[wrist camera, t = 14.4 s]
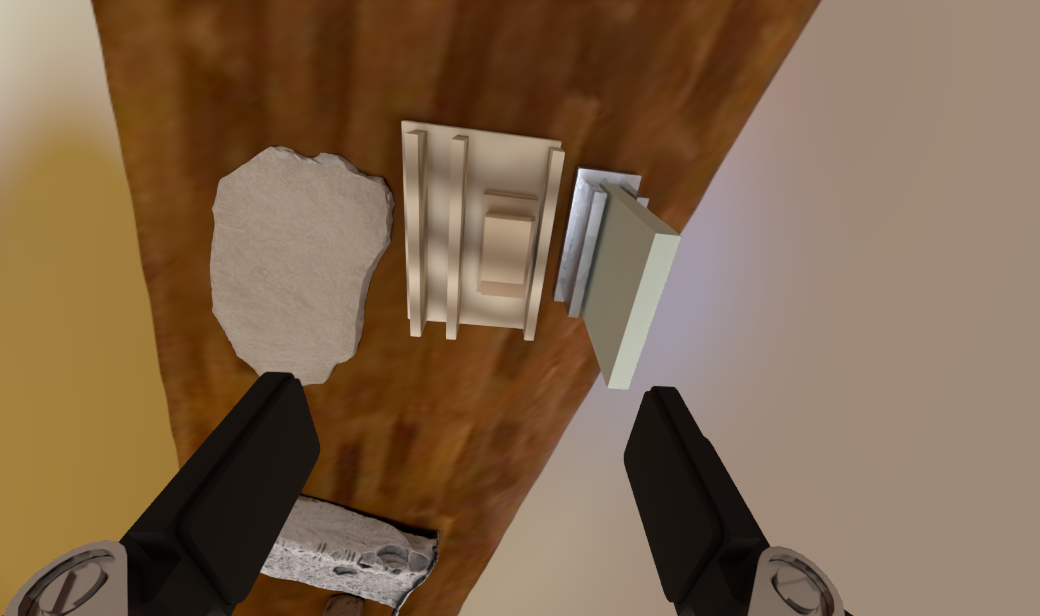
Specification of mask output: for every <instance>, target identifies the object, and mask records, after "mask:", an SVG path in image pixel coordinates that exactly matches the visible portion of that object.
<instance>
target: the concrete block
mask: <svg viewBox="0 0 1040 616" xmlns="http://www.w3.org/2000/svg"><path fill="white" fill-rule="evenodd" d="M439 531H440V530H439ZM438 537H439V532H438V531H437V532H436V533H435V534H434V535H433V537H431V539H429V538H425V537H422V536H417V535H416V536H414V535H413V534H410V533H404V532H402V531H400V530H399V529H397V528H396V527H393V526H392V525H390V524H388V523H385V522H383V521H381V520H380V521H379V520H377V519H375V518H369V517H365V516H363V515H360V514H357V513H356V512H352V511H349V510H346V509H345V508H343V507H340V506H335V505H333V504H330V503H328V502H326V501H325V502H321V501H319V500H316V499H313V498H306V497H304V496H300V495H299V497H298V499H297V501H296V503H295V505H294V507H293V509H292V511H291V512H290V514H289V516H288V518H287V520H286V522H285V524H284V526H283V528H282V530H281V532H280V534H279V536H278V538H277V540H276V542H275V544H274V546H273V548H272V550H271V552H270V554H269V556H268V558H267V560H266V562H265V564H264V565H263V567H262V569H261V571H260V572H261V573H263V574H266V575H269V576H271V577H275V578H281V579H289V580H294V581H300V582H304V583H307V584H309V585H314V586H316V587H320V588H325V589H331V590H340V591H344V592H348V593H352V594H355V595H358V596H361V597H363V598H366V599H372V600H375V601H379V602H380V603H382V604H387V605H390V606H391V607H393V608H394V610H393V612H392V614H391V615H392V616H398V614H399V609H400V607H401V606H402V605H403V603H404V602H405V600H406V598H407V597H408V595H409V594H410V593H411V592H412V591H413V590H414V589H415V588H416V587H418V586H419V585H421V584H422V583H423V582H424V581H425V579H426V578H427V577H428V575H429V574H430V572H431V571H432V569H433V568H434V567H435V563H437V558H438V555H439V553H438V552H437V551H438V550H437V549H438V545H439V543H438V542H439V540H438Z"/></svg>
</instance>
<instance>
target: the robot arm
mask: <svg viewBox="0 0 1040 616" xmlns="http://www.w3.org/2000/svg"><path fill="white" fill-rule="evenodd" d="M319 454H320V443H319V440H318V436H317V433H316V430H315V427H314V423H313V420H312V417H311V413H310V410H309V407H308V404H307V400H306V397H305V394H304V390H303V387H302V384H301V381H300V379H298V378H295V377H294V375H293V374H292V373H291V372H269V371H267V372H265V373H263V374H262V375H261V376H260V377H259V378H258V380H257V381H256V382H255V383H254V384H253V385H252V387H251V388H250V389H249V390H248V391H247V393H246V394H245V395H244V396H243V397H242V398H241V400H240V401H239V402H238V403H237V404H236V405H235V407H234V408H233V409H232V410H231V411H230V412H229V414H228V415H227V416H226V417H225V418H224V419H223V421H222V422H221V423H220V424H219V425H218V426H217V428H216V429H215V430H214V431H213V432H212V433H211V434H210V436H209V437H208V438H207V439H206V440H205V441H204V443H203V444H202V445H201V446H200V447H199V448H198V450H197V451H196V452H195V453H194V454H193V455H192V457H191V458H190V459H189V460H188V461H187V462H186V464H185V465H184V466H183V467H182V468H181V470H180V471H179V472H178V473H177V474H176V475H175V477H174V478H173V479H172V480H171V481H170V482H169V484H168V485H167V486H166V487H165V488H164V490H163V491H162V492H161V493H160V494H159V495H158V496H157V498H156V499H155V500H154V501H153V502H152V503H151V505H150V506H149V507H148V508H147V509H146V511H145V512H144V513H143V514H142V515H141V516H140V518H139V519H138V520H137V521H136V522H135V523H134V525H133V526H132V527H131V528H130V529H129V530H128V532H127V533H126V534H125V535H124V536H123V537H122V539H121V540H120V541H119V542H117V541H107V540H104V541H98V542H93V543H89V544H86V545H83V546H81V547H78V548H76V549H73V550H71V551H69V552H67V553H66V554H64V555H62V556H60V557H58V558H57V559H55V560H53V561H52V562H50V563H49V564H48V565H46V566H45V567H44V568H42V569H41V570H39V571H38V572H37V573H35V574H34V575H33V576H32V577H31V578H30V579H29V580H28V581H27V582H26V583H25V584H24V585H23V586H22V587H21V588H20V589H19V591H18V592H17V593H16V594H15V596H14V597H13V598H12V600H11V601H10V602H9V604H8V606H7V609H6V611H5V613H4V615H3V616H231V614H232V613H233V611H234V609H235V607H236V605H237V603H241V602H242V601H244V600H245V599H246V597H247V596H248V594H249V593H250V591H251V589H252V587H253V585H254V583H255V581H256V579H257V577H258V575H259V573H260V571H261V569H262V567H263V565H264V564H265V562H266V560H267V558H268V556H269V554H270V552H271V550H272V548H273V546H274V544H275V542H276V540H277V538H278V536H279V534H280V532H281V530H282V528H283V526H284V524H285V522H286V520H287V518H288V516H289V514H290V512H291V511H292V509H293V507H294V505H295V503H296V501H297V499H298V497H299V495H300V493H301V491H302V489H303V487H304V485H305V483H306V481H307V479H308V477H309V475H310V473H311V471H312V469H313V467H314V465H315V463H316V461H317V459H318V457H319ZM624 465H625V468H626V472H627V475H628V478H629V481H630V484H631V488H632V491H633V494H634V497H635V501H636V504H637V507H638V510H639V513H640V517H641V520H642V523H643V526H644V530H645V533H646V536H647V539H648V543H649V546H650V549H651V552H652V555H653V559H654V562H655V565H656V568H657V572H658V575H659V578H660V581H661V585H662V588H663V591H664V594H665V596H666V598H667V600H668V601H669V602H673V603H674V605H675V609H676V612H677V615H678V616H853V615H851V614H850V613H848V612H847V611H846V610H844V608H843V602H842V600H841V598H840V596H839V594H838V591H837V589H836V588H835V586H834V585H833V584H832V582H831V581H830V579H829V578H828V577H827V575H825V573H824V572H823V571H822V570H821V569H820V568H819V567H818V566H817V565H816V564H814V563H813V562H812V561H810V560H809V559H808V558H806V557H805V556H804V555H802V554H800V553H797V552H796V551H794V550H792V549H788V548H784V547H780V546H777V547H770V545H769V543H768V541H767V540H766V538H765V536H764V535H763V533H762V531H761V529H760V528H759V526H758V524H757V522H756V521H755V519H754V517H753V515H752V514H751V512H750V510H749V508H748V507H747V505H746V503H745V502H744V500H743V498H742V496H741V494H740V493H739V491H738V489H737V487H736V486H735V484H734V482H733V480H732V479H731V477H730V475H729V473H728V472H727V470H726V468H725V466H724V465H723V463H722V461H721V459H720V458H719V456H718V454H717V452H716V451H715V449H714V447H713V445H712V444H711V443H710V441H709V440H708V439H707V438H705V437H704V436H703V435H702V433H701V431H700V429H699V427H698V426H697V424H696V422H695V420H694V419H693V417H692V415H691V413H690V411H689V410H688V408H687V406H686V405H685V403H684V401H683V399H682V397H681V395H680V394H679V392H678V390H677V389H676V388H675V387H665V386H663V387H662V386H653V387H652V388H651V390H650V391H646V392H645V394H644V396H643V399H642V402H641V405H640V408H639V411H638V414H637V417H636V420H635V423H634V426H633V428H632V431H631V434H630V437H629V440H628V443H627V446H626V449H625V452H624Z"/></svg>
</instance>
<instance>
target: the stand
mask: <svg viewBox="0 0 1040 616" xmlns="http://www.w3.org/2000/svg"><path fill="white" fill-rule="evenodd" d="M641 177H642V176H640V175H639V174H637V173H630V172H622V171H614V170H606V169H598V168H590V167H582V166H576V170H575V176H574V181H573V186H572V192H571V197H570V203H569V208H568V213H567V219H566V224H565V229H564V235H563V240H562V246H561V251H560V256H559V262H558V267H557V273H556V278H555V283H554V289H553V294H552V295H553V299H554V301H562V302H564V304H565V307H566V311H567V314H568V317H575V318H578V316H579V312H580V308H581V304H582V299H583V295H584V291H585V286H586V282H587V278H588V273H589V269H590V265H591V261H592V256H593V252H594V248H595V243H596V239H597V235H598V231H599V226H600V222H601V218H602V213H603V209H604V205H605V200H606V196H607V193H606V192H605V191H604V190H603V189H602V188H601V187H600V186H599V184H600V183H607V184H615V185H617V186H619V187H620V188H621V189H622V190H624V191H625V192H626V193H628V194H629V195H630V196H631V197H633V198H634V199H635V200H636V201H638V202H639V203H640V204H641V205H643V206H644V207H645V208H647V205H648V201H649V198H647V197H646V196H645V195H643V194H642V193H640V192H639V191H638V188H639V184H640V180H641Z"/></svg>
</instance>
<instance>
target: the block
mask: <svg viewBox="0 0 1040 616" xmlns="http://www.w3.org/2000/svg"><path fill="white" fill-rule="evenodd" d="M363 609H364V602H363V601H362V600H361V599H360V598H359V597H355V596H351V595H338V596H335V597H332V598H330V599H329V601H328V603H327V605H326V608H325V610H324V613H323V616H362V614H363Z"/></svg>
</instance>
